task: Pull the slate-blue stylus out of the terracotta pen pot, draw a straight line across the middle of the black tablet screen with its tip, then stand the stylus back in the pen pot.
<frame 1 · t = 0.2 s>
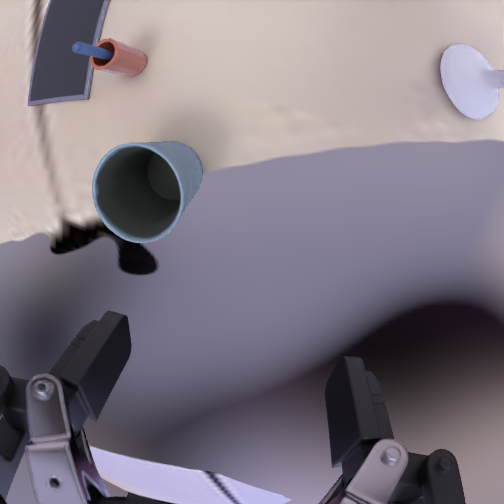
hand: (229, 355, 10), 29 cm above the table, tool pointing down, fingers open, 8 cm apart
blue-grey tapered bin: (174, 172, 37), on the table
pen pot: (134, 63, 30), on the table
tablet: (67, 38, 27), on the table
flower in vase: (461, 84, 27), on the table
stylus: (132, 62, 29), point 1 cm above the table, touching pen pot
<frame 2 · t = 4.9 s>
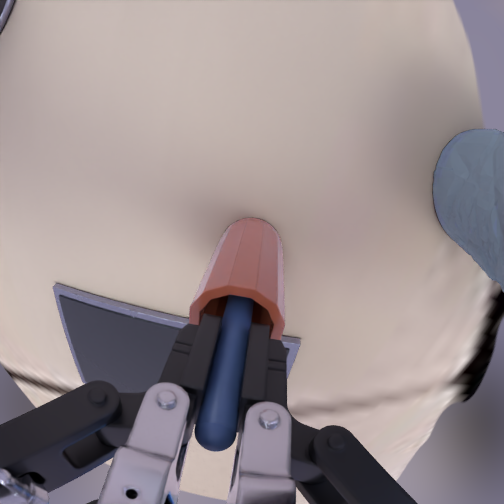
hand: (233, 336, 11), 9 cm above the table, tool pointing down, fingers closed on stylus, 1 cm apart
blue-grey tapered bin: (475, 183, 15), on the table
pen pot: (251, 246, 19), on the table
tablet: (165, 368, 25), on the table
stylus: (250, 250, 18), point 1 cm above the table, touching gripper, pen pot
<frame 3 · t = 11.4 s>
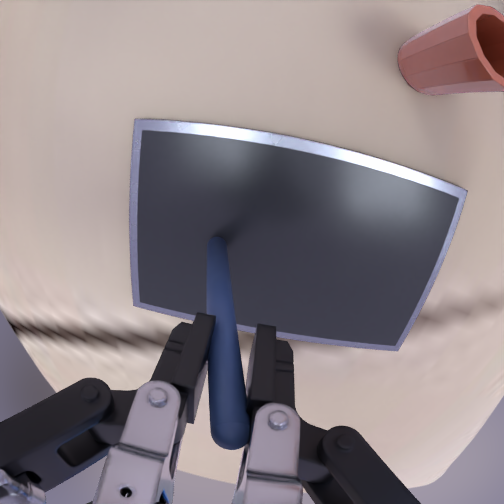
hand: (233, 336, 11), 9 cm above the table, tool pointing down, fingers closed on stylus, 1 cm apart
pen pot: (424, 66, 13), on the table
tablet: (292, 248, 19), on the table
stylus: (216, 242, 18), point 1 cm above the table, tilted 13°, touching gripper, tablet
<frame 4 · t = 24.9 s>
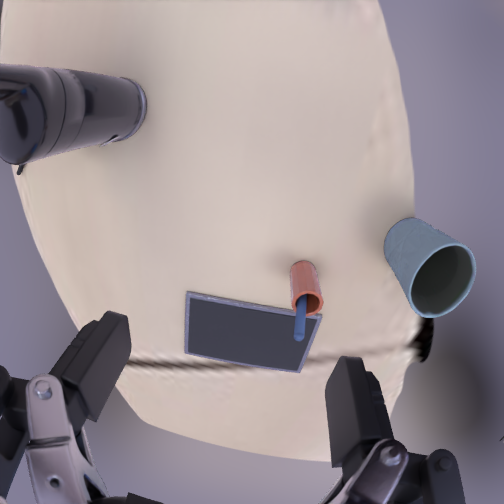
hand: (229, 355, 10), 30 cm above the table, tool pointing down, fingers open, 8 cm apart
blue-grey tapered bin: (408, 242, 39), on the table
pen pot: (303, 272, 42), on the table
tablet: (248, 335, 48), on the table
stylus: (303, 273, 42), point 1 cm above the table, tilted 8°, touching pen pot
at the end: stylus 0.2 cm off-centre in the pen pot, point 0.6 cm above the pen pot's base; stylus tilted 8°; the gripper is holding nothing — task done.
